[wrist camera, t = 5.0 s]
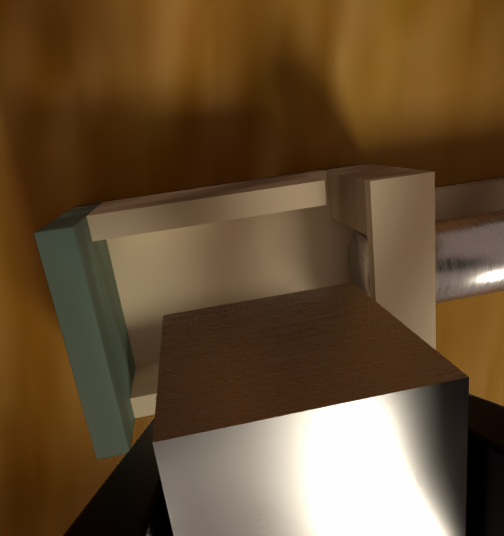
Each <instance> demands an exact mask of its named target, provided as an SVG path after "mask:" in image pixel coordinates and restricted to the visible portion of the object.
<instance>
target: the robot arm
mask: <svg viewBox="0 0 504 536" xmlns="http://www.w3.org/2000/svg"><path fill="white" fill-rule="evenodd" d="M154 419H155V418H154ZM154 419H153V421H152V422H151V423H150V424H149V426H148V427H147V428H146V430H145V431H144V432H143V433H142V435H141V436H140V437H139V439H138V440H137V441H136V442H135V444H134V445H133V446H132V448H131V449H130V450H129V451H128V453H127V454H126V455H125V457H124V458H123V459H122V460H121V462H120V463H119V464H118V466H117V467H116V468H115V469H114V471H113V472H112V473H111V475H110V476H109V477H108V478H107V480H106V481H105V482H104V484H103V485H102V486H101V487H100V489H99V490H98V491H97V493H96V494H95V495H94V496H93V498H92V499H91V500H90V502H89V503H88V504H87V505H86V507H85V508H84V509H83V511H82V512H81V513H80V515H79V516H78V517H77V518H76V520H75V521H74V522H73V524H72V525H71V526H70V527H69V529H68V530H67V531H66V533H65V534H64V535H63V536H173V531H172V527H171V522H170V518H169V513H168V509H167V505H166V500H165V496H164V491H163V487H162V483H161V478H160V474H159V469H158V465H157V461H156V456H155V452H154V447H153V443H152V442H153V431H154ZM466 536H504V406H502V405H499V404H496V403H493V402H491V401H488V400H485V399H482V398H479V397H477V396H474V395H471V394H468V441H467V489H466Z"/></svg>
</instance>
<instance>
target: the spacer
mask: <svg viewBox="0 0 504 536" xmlns="http://www.w3.org/2000/svg"><path fill="white" fill-rule="evenodd" d="M468 393H469V377H468V376H467V375H466V374H464V373H463V372H462V371H461V370H460V369H458V368H457V367H456V366H455V365H453V364H452V363H451V362H450V361H448V360H447V359H446V358H445V357H444V356H442V355H441V354H440V353H439V352H437V351H436V350H435V349H434V348H432V347H431V346H430V345H429V344H428V343H426V342H425V341H424V340H423V339H421V338H420V337H419V336H418V335H417V334H415V333H414V332H413V331H412V330H410V329H409V328H408V327H407V326H405V325H404V324H403V323H402V322H401V321H399V320H398V319H397V318H396V317H394V316H393V315H392V314H391V313H390V312H388V311H387V310H386V309H385V308H383V307H382V306H381V305H380V304H378V303H377V302H376V301H375V300H374V299H372V298H371V297H370V296H369V295H367V294H366V293H365V292H364V291H362V290H361V289H360V288H359V287H358V286H356V285H355V284H354V283H353V282H350V283H344V284H339V285H333V286H327V287H322V288H316V289H310V290H304V291H299V292H293V293H287V294H282V295H276V296H270V297H265V298H259V299H253V300H247V301H242V302H236V303H230V304H225V305H219V306H213V307H207V308H202V309H196V310H190V311H185V312H179V313H173V314H168V315H163V326H162V337H161V349H160V361H159V372H158V384H157V396H156V407H155V419H154V431H153V442H152V443H153V447H154V452H155V456H156V461H157V465H158V469H159V474H160V478H161V483H162V487H163V491H164V496H165V500H166V505H167V509H168V513H169V518H170V522H171V527H172V531H173V536H466V489H467V441H468Z"/></svg>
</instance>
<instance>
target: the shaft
mask: <svg viewBox="0 0 504 536" xmlns="http://www.w3.org/2000/svg"><path fill="white" fill-rule="evenodd" d="M347 259H348V271H349V277H350V282H353V283H354V284H355V285H356V286H358V287H359V288H360V289H361V290H362V291H364V292H365V293H366V294H367V295H369V296H370V277H369V257H368V238H367V235H365V234H363V233H356V234H354V235H353V236H352V237H351V239H350V242H349V246H348V258H347ZM499 291H504V209H500V210H494V211H488V212H482V213H476V214H470V215H464V216H458V217H451V218H445V219H439V220H435V297H436V303H441V302H447V301H452V300H457V299H463V298H468V297H473V296H478V295H484V294H489V293H494V292H499ZM370 297H371V296H370Z"/></svg>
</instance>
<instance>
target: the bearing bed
mask: <svg viewBox="0 0 504 536" xmlns="http://www.w3.org/2000/svg"><path fill="white" fill-rule="evenodd" d="M500 209H504V177H501V178H495V179H488V180H482V181H475V182H469V183H463V184H456V185H450V186H444V187H437V188H435V171H427V170H418V169H410V168H402V167H394V166H386V165H377V164H369V163H365V164H358V165H352V166H345V167H338V168H331V169H324V170H318V171H311V172H304V173H297V174H290V175H284V176H277V177H270V178H263V179H256V180H250V181H243V182H236V183H229V184H222V185H216V186H209V187H202V188H195V189H188V190H182V191H175V192H168V193H161V194H154V195H148V196H141V197H134V198H127V199H120V200H114V201H107V202H100V203H93V204H86V205H80V206H75V207H73V208H72V209H70V210H69V211H67V212H65V213H64V214H62V215H61V216H59V217H58V218H56V219H55V220H53V221H52V222H50V223H49V224H47V225H46V226H44V227H42V228H41V229H39V230H38V231H36V232H35V233H34V235H35V239H36V242H37V246H38V250H39V253H40V257H41V260H42V264H43V268H44V271H45V275H46V278H47V282H48V285H49V289H50V293H51V296H52V300H53V303H54V307H55V311H56V314H57V318H58V321H59V325H60V329H61V332H62V336H63V339H64V343H65V347H66V350H67V354H68V357H69V361H70V364H71V368H72V372H73V375H74V379H75V382H76V386H77V390H78V393H79V397H80V400H81V404H82V408H83V411H84V415H85V418H86V422H87V426H88V429H89V433H90V436H91V440H92V444H93V447H94V451H95V454H96V458H97V460H98V459H102V458H107V457H112V456H116V455H121V454H126V453H128V451H129V450H130V448H131V441H132V434H133V428H134V421H135V418H139V417H144V416H149V415H154V414H155V407H156V396H157V384H158V372H159V361H160V349H161V337H162V326H163V315H168V314H173V313H179V312H185V311H190V310H196V309H202V308H207V307H213V306H219V305H225V304H230V303H236V302H242V301H247V300H253V299H259V298H265V297H270V296H276V295H282V294H287V293H293V292H299V291H304V290H310V289H316V288H322V287H327V286H333V285H339V284H344V283H350V277H349V271H348V259H347V258H348V246H349V242H350V239H351V237H352V236H353V235H354V234H356V233H363V234H365V235H367V238H368V257H369V277H370V296H371V298H372V299H374V300H375V301H376V302H377V303H378V304H380V305H381V306H382V307H383V308H385V309H386V310H387V311H388V312H390V313H391V314H392V315H393V316H394V317H396V318H397V319H398V320H399V321H401V322H402V323H403V324H404V325H405V326H407V327H408V328H409V329H410V330H412V331H413V332H414V333H415V334H417V335H418V336H419V337H420V338H421V339H423V340H424V341H425V342H426V343H428V344H429V345H430V346H431V347H432V348H434V349H435V350H436V297H435V220H439V219H445V218H451V217H458V216H464V215H470V214H476V213H482V212H488V211H494V210H500Z"/></svg>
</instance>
